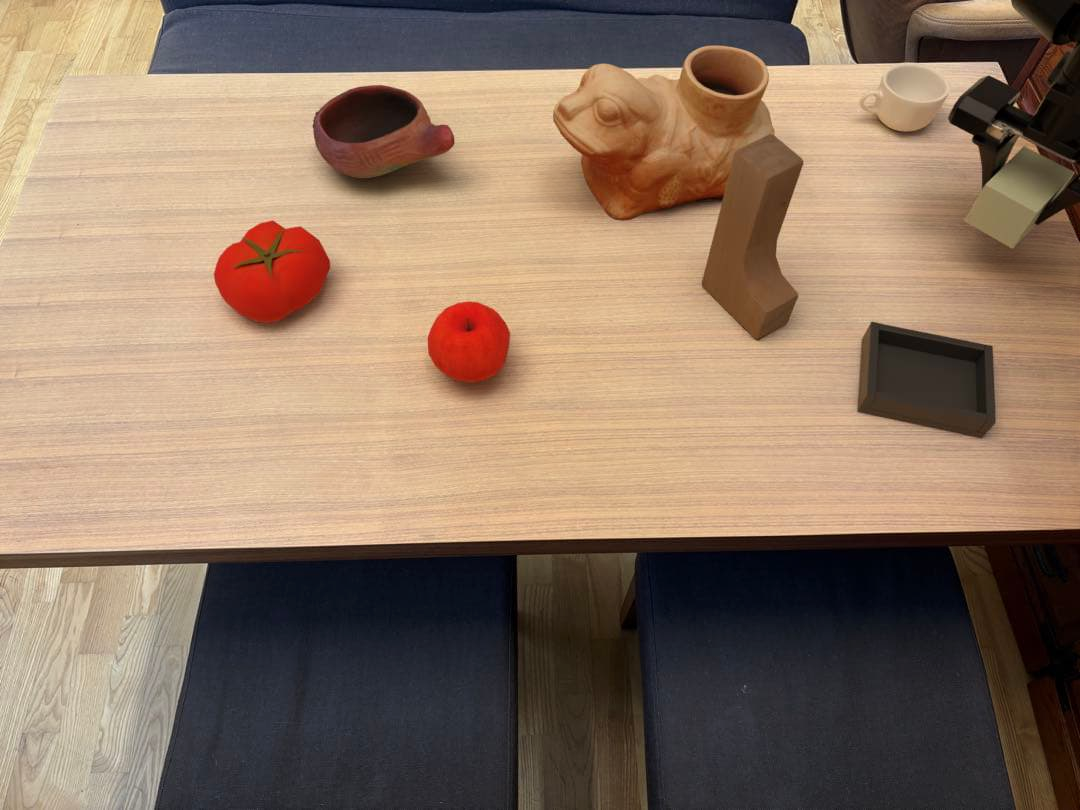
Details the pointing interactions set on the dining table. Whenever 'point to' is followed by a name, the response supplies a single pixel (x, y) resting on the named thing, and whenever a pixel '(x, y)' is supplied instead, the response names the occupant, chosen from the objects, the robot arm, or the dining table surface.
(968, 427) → the mount
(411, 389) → the dining table surface
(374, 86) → the bowl
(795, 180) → the wooden block
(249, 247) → the tomato
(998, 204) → the olive green block
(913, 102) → the teacup
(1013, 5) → the robot arm
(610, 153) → the ceramic vessel
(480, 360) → the apple
